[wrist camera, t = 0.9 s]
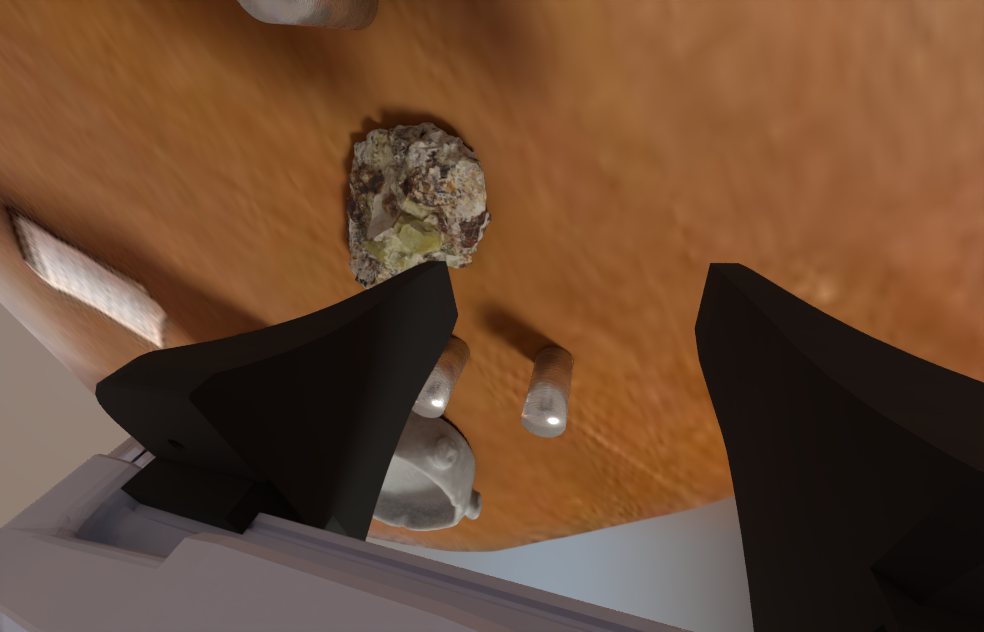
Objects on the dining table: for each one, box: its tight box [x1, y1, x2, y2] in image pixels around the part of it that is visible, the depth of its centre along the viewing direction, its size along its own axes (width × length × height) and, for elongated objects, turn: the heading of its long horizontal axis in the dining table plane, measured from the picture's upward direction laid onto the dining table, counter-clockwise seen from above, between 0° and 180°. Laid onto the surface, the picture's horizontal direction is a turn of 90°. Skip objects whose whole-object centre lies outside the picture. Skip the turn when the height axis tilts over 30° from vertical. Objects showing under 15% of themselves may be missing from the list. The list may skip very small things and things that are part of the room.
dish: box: [372, 410, 482, 531], centre depth 32 cm, size 14×14×5 cm
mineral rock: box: [346, 122, 491, 289], centre depth 19 cm, size 11×4×8 cm
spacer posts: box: [237, 0, 574, 437], centre depth 17 cm, size 9×22×5 cm, turn 10°
